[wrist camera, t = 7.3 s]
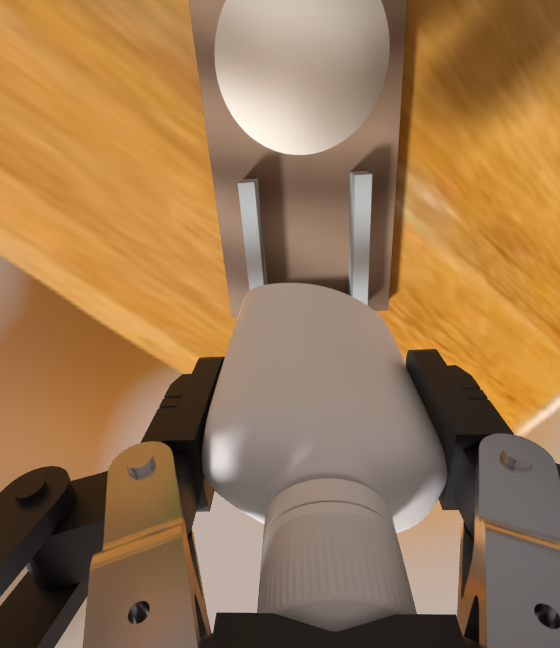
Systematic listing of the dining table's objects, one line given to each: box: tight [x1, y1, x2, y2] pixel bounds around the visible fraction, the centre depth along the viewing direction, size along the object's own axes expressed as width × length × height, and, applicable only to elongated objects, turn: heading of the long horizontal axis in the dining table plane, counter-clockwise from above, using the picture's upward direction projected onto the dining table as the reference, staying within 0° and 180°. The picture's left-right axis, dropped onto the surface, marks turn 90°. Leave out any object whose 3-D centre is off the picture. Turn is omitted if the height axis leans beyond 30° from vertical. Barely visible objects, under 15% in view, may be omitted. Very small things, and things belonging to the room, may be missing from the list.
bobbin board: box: [189, 0, 407, 317], centre depth 22 cm, size 20×12×10 cm, turn 4°
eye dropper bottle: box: [201, 283, 448, 631], centre depth 10 cm, size 4×6×12 cm
